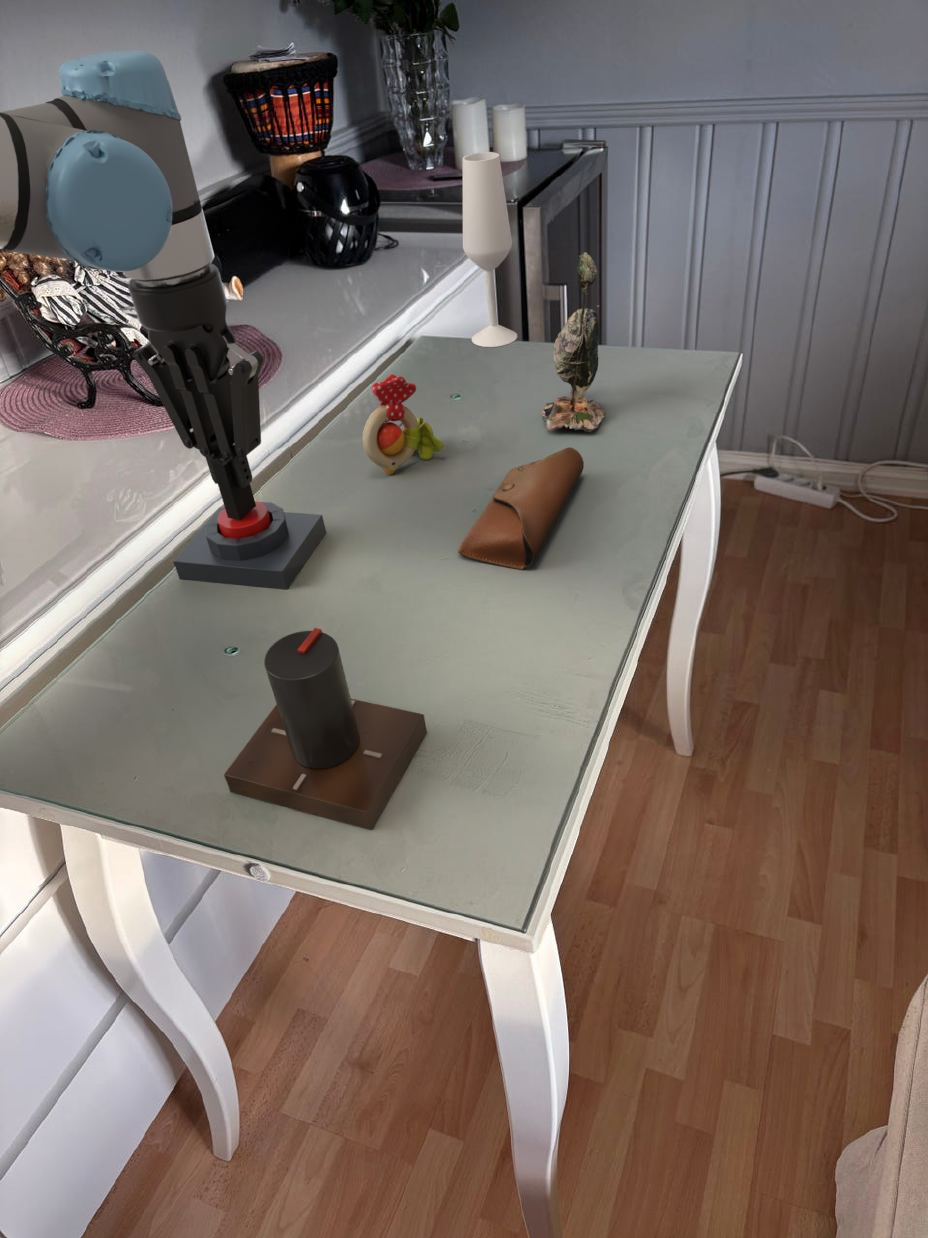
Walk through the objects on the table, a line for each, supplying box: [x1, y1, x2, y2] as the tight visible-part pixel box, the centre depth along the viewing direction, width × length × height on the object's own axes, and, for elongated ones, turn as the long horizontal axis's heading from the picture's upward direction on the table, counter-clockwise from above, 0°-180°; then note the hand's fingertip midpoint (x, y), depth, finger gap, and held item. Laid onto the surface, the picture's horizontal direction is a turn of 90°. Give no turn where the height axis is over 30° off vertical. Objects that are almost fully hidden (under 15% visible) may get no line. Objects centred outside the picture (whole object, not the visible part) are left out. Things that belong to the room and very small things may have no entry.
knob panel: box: [223, 698, 428, 831], centre depth 69 cm, size 12×10×2 cm
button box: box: [172, 501, 327, 590], centre depth 92 cm, size 12×10×4 cm
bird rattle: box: [362, 374, 445, 475], centre depth 102 cm, size 6×11×9 cm
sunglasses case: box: [457, 447, 585, 571], centre depth 93 cm, size 18×7×7 cm, turn 160°
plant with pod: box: [540, 251, 606, 433], centre depth 104 cm, size 8×11×20 cm
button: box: [218, 500, 271, 539], centre depth 91 cm, size 5×5×2 cm
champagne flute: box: [462, 151, 518, 348], centre depth 124 cm, size 7×7×24 cm
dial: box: [263, 627, 360, 769], centre depth 66 cm, size 5×5×9 cm
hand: (242, 511), depth 90 cm, fingers closed
